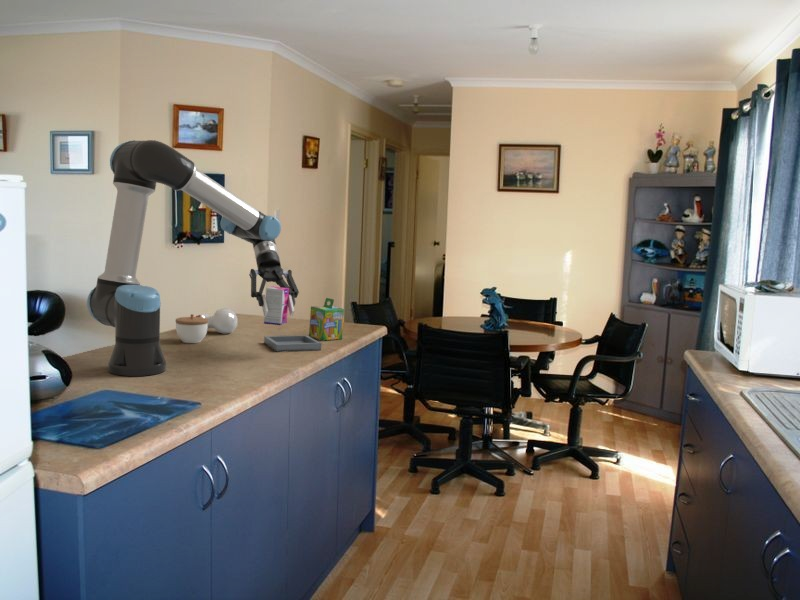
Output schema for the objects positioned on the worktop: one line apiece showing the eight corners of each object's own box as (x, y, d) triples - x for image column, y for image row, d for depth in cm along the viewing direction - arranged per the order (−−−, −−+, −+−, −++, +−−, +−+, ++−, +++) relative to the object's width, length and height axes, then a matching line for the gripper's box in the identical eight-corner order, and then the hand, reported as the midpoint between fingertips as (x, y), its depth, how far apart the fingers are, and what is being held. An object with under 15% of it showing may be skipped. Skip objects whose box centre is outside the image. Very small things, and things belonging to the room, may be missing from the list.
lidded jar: (169, 342, 246) (169, 315, 245) (185, 337, 256) (186, 311, 255) (197, 345, 244) (198, 317, 242) (213, 340, 254) (214, 313, 253)
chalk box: (308, 337, 270) (309, 297, 268) (328, 335, 276) (330, 296, 274) (323, 341, 263) (324, 300, 261) (343, 339, 269) (345, 299, 267)
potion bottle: (237, 338, 267) (198, 340, 269) (243, 320, 274) (205, 322, 276) (230, 320, 261) (190, 322, 263) (236, 302, 268) (198, 304, 270)
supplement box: (281, 325, 229) (282, 289, 227) (263, 323, 230) (264, 287, 228) (287, 323, 234) (289, 287, 233) (270, 321, 235) (271, 286, 234)
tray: (276, 351, 240) (277, 344, 240) (264, 343, 254) (264, 336, 253) (321, 350, 247) (321, 343, 247) (306, 341, 261) (306, 335, 260)
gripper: (238, 249, 234) (249, 306, 221) (300, 251, 243) (314, 306, 230) (234, 264, 239) (244, 321, 227) (294, 266, 248) (307, 320, 236)
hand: (279, 313), depth 229 cm, fingers closed on supplement box, 8 cm apart
